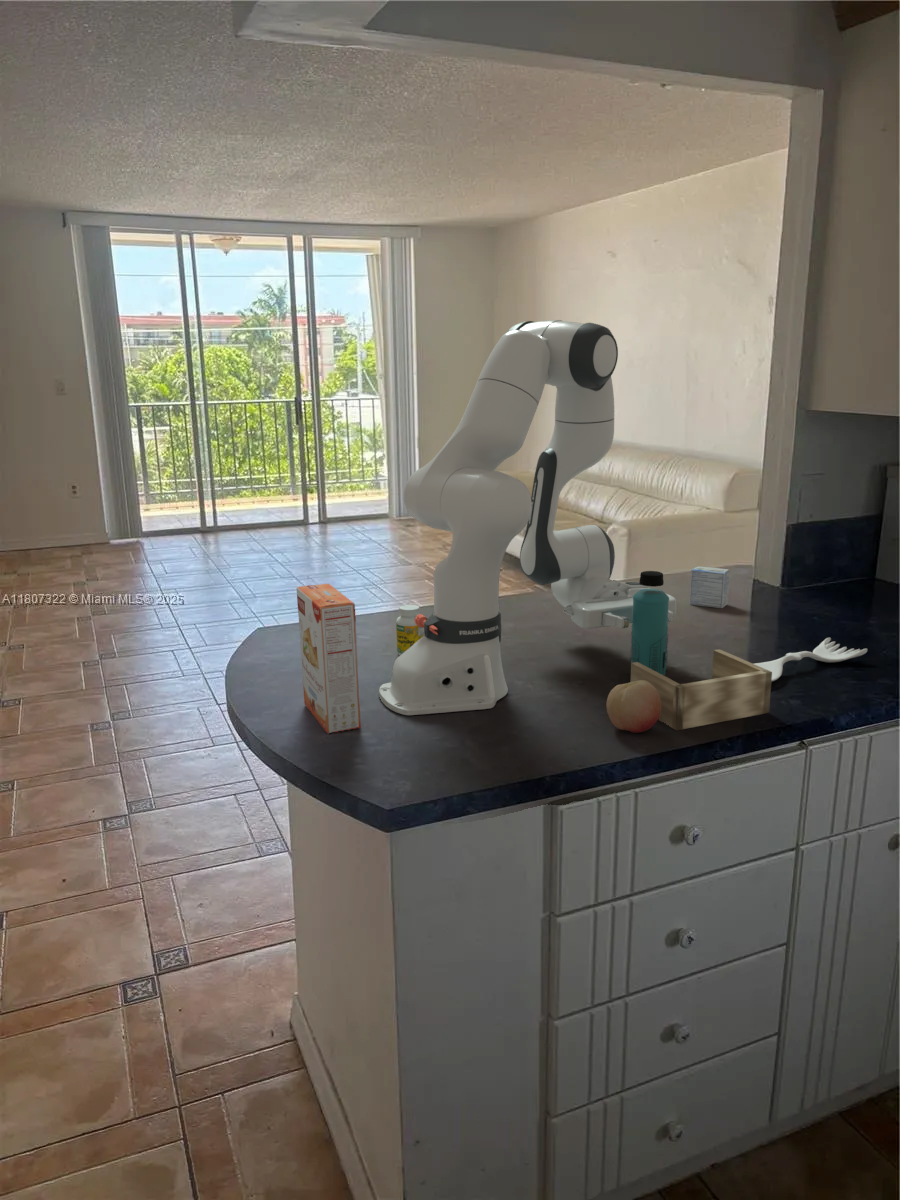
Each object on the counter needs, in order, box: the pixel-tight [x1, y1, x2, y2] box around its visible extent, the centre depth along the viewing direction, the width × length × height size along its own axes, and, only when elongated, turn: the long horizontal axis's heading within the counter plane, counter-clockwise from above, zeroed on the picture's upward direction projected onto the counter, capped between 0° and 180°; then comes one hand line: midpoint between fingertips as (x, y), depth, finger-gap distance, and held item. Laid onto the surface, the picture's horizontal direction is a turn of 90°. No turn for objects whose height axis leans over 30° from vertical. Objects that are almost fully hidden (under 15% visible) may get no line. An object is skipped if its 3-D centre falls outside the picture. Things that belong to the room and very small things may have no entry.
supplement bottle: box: [395, 604, 424, 656], centre depth 173 cm, size 5×5×10 cm
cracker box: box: [296, 583, 362, 734], centre depth 140 cm, size 14×6×21 cm, turn 24°
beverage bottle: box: [629, 570, 670, 676], centre depth 155 cm, size 6×7×20 cm
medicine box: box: [689, 566, 730, 609], centre depth 207 cm, size 8×4×9 cm, turn 58°
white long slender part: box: [754, 637, 868, 683], centre depth 162 cm, size 9×32×4 cm, turn 119°
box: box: [630, 649, 772, 731], centre depth 144 cm, size 18×13×7 cm
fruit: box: [605, 680, 661, 734], centre depth 135 cm, size 8×8×8 cm
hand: (647, 620), depth 156 cm, fingers open, 8 cm apart
